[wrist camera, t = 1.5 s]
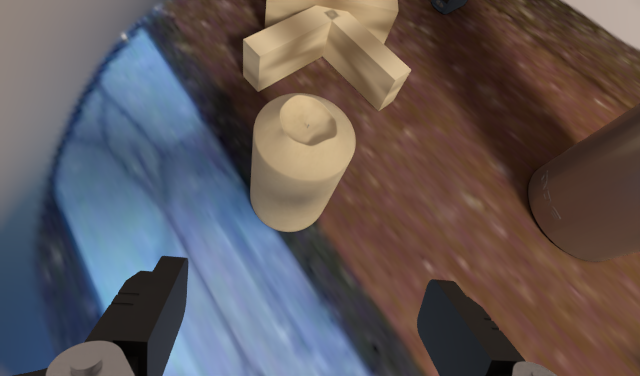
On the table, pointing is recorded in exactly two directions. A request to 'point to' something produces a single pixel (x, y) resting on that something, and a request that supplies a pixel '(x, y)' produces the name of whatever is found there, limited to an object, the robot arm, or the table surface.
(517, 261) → the table surface
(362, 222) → the table surface
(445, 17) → the table surface
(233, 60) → the table surface
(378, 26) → the letter k block
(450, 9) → the vaping device
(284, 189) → the candle
